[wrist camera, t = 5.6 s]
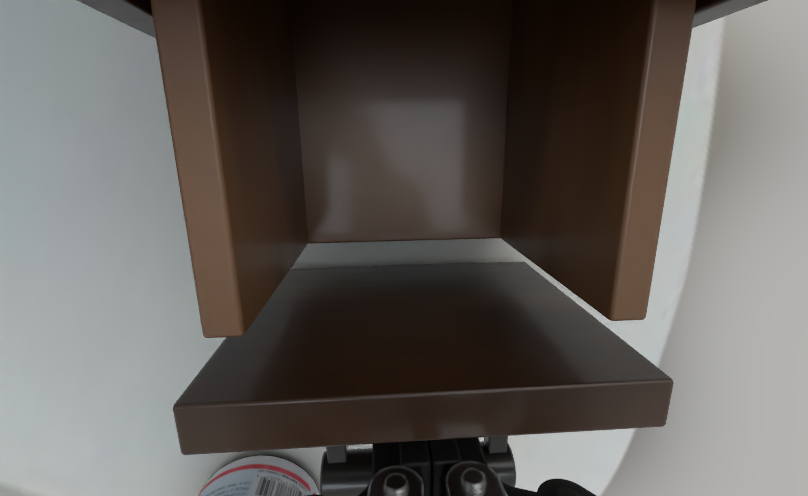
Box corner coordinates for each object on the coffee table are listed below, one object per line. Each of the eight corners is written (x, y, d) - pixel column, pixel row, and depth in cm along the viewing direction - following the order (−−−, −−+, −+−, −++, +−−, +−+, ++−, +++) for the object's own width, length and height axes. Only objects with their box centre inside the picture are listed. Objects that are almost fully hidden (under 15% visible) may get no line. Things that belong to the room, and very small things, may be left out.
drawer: (516, 381, 18) (636, 585, 10) (291, 392, 18) (211, 623, 9) (550, -111, 13) (854, -556, 5) (240, -120, 13) (-33, -649, 4)
